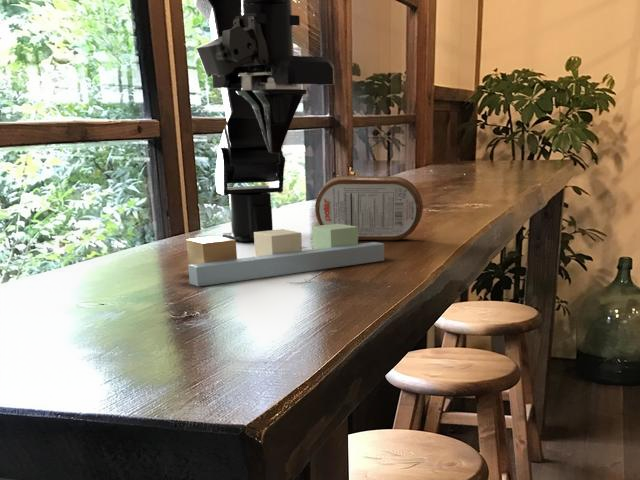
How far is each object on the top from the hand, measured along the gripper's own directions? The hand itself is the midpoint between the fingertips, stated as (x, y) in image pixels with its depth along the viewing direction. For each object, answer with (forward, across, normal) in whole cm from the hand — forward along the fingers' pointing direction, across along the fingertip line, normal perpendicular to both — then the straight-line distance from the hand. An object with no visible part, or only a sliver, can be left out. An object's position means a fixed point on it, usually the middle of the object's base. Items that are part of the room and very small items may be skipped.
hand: (274, 153), depth 99 cm
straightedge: (+12, +12, -6) cm, 18 cm away
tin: (+12, -2, +16) cm, 20 cm away
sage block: (+12, +9, +2) cm, 15 cm away
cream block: (+12, +9, -6) cm, 16 cm away
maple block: (+12, +9, -14) cm, 21 cm away
